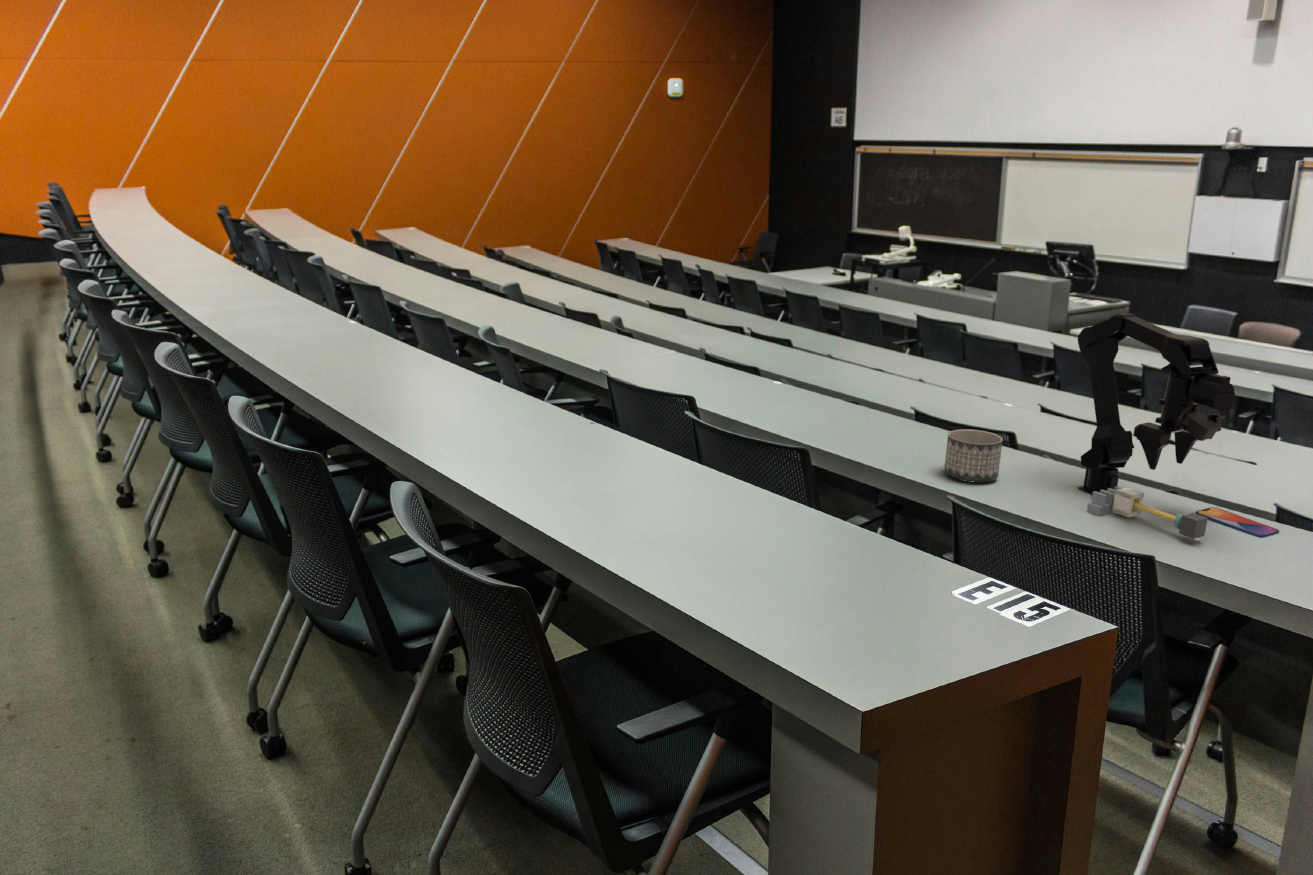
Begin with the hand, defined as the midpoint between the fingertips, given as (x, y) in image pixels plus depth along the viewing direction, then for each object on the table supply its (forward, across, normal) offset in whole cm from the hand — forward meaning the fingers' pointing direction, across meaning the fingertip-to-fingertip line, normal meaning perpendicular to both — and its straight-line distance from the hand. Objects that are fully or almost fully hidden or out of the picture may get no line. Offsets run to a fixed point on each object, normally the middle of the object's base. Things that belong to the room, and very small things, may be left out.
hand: (1165, 466), depth 207 cm
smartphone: (+12, +12, -10) cm, 20 cm away
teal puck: (+10, -7, -10) cm, 15 cm away
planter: (+13, -17, +38) cm, 44 cm away
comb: (+12, -6, +7) cm, 15 cm away
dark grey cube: (+10, -7, -12) cm, 17 cm away
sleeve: (+12, -6, +3) cm, 14 cm away
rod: (+9, -6, -1) cm, 11 cm away
